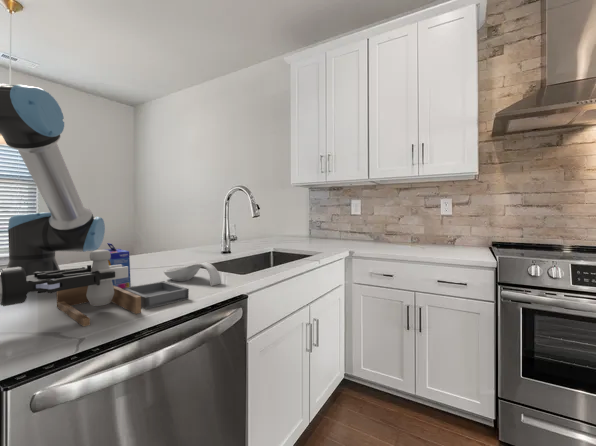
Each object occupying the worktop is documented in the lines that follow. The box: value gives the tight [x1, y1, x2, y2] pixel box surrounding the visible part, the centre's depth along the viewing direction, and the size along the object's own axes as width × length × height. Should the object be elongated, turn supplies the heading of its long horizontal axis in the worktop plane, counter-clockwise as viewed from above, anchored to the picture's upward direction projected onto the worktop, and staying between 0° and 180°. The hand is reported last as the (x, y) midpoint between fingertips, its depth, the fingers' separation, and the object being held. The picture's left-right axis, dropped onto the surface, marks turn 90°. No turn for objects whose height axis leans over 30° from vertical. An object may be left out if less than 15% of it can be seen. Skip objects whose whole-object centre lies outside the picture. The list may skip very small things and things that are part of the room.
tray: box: [122, 281, 190, 310], centre depth 87 cm, size 14×12×3 cm
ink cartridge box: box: [103, 242, 132, 289], centre depth 97 cm, size 10×6×14 cm, turn 51°
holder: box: [56, 267, 142, 327], centre depth 77 cm, size 20×12×9 cm, turn 51°
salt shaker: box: [86, 249, 114, 307], centre depth 75 cm, size 6×6×13 cm
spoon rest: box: [163, 261, 222, 287], centre depth 110 cm, size 24×12×7 cm, turn 61°
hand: (124, 270), depth 80 cm, fingers closed on salt shaker, 3 cm apart
